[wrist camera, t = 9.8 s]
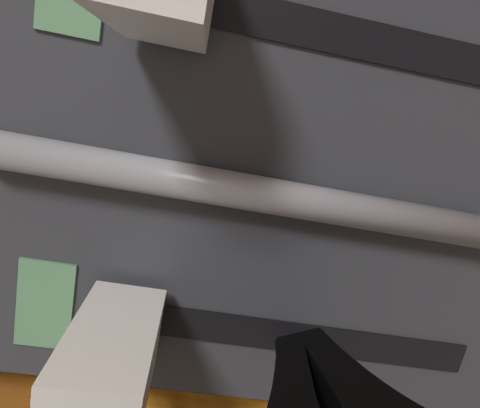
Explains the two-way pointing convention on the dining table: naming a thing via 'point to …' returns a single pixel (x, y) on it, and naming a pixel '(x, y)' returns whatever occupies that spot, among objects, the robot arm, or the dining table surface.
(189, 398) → the dining table surface
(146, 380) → the block
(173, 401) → the dining table surface
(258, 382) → the slider control panel
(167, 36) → the breaker
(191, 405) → the dining table surface
